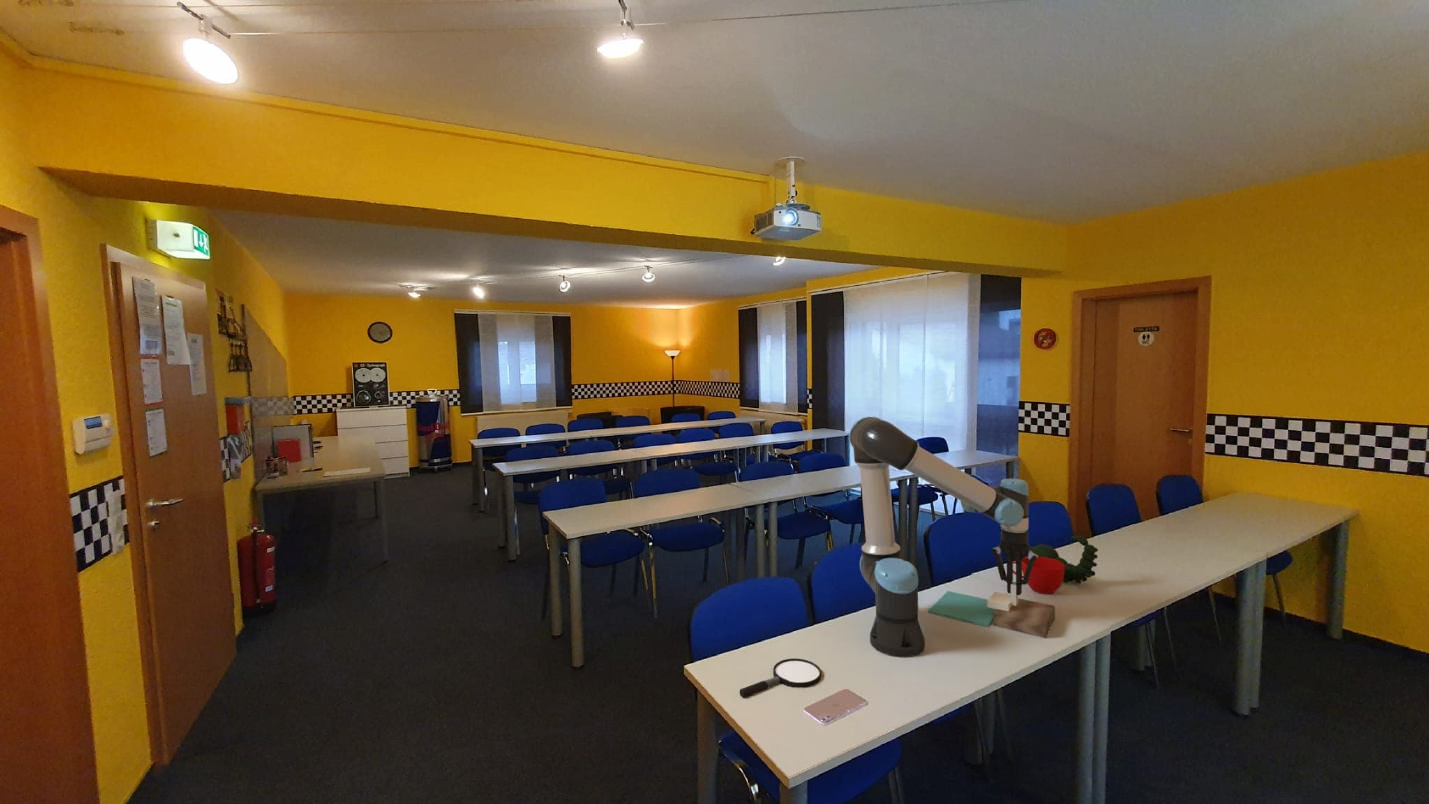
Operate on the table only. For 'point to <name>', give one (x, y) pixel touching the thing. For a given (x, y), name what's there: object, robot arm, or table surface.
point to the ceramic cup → (1044, 574)
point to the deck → (1026, 618)
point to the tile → (1000, 601)
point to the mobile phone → (834, 707)
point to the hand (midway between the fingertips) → (1014, 604)
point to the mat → (963, 608)
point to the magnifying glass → (787, 676)
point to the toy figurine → (1070, 570)
